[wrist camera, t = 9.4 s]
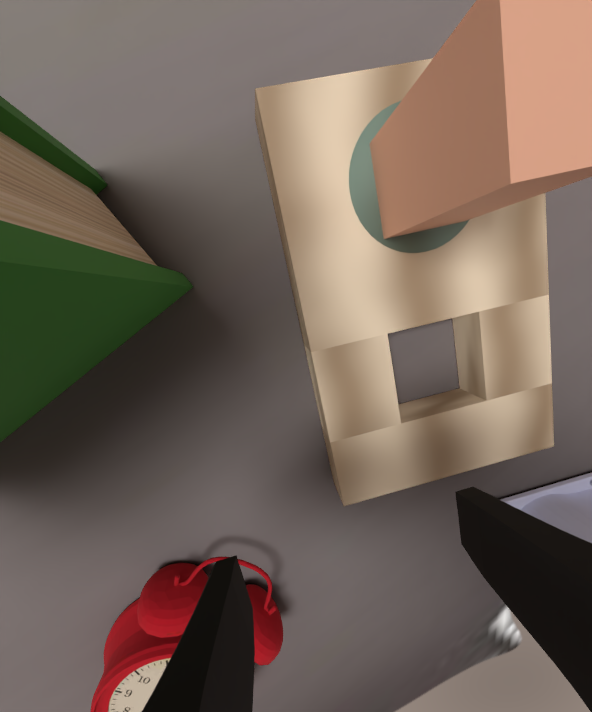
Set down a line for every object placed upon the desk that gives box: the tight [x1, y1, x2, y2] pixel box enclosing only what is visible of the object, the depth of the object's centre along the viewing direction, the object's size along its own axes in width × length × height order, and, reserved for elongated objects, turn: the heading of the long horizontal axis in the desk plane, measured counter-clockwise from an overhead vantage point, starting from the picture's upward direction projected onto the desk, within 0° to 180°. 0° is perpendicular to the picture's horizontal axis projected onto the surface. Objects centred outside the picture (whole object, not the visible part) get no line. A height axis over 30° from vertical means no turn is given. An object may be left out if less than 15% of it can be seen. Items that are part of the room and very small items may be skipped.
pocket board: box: [255, 59, 554, 506], centre depth 18 cm, size 14×22×3 cm, turn 12°
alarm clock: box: [91, 557, 283, 712], centre depth 20 cm, size 10×6×15 cm
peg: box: [370, 0, 592, 239], centre depth 11 cm, size 4×4×8 cm
